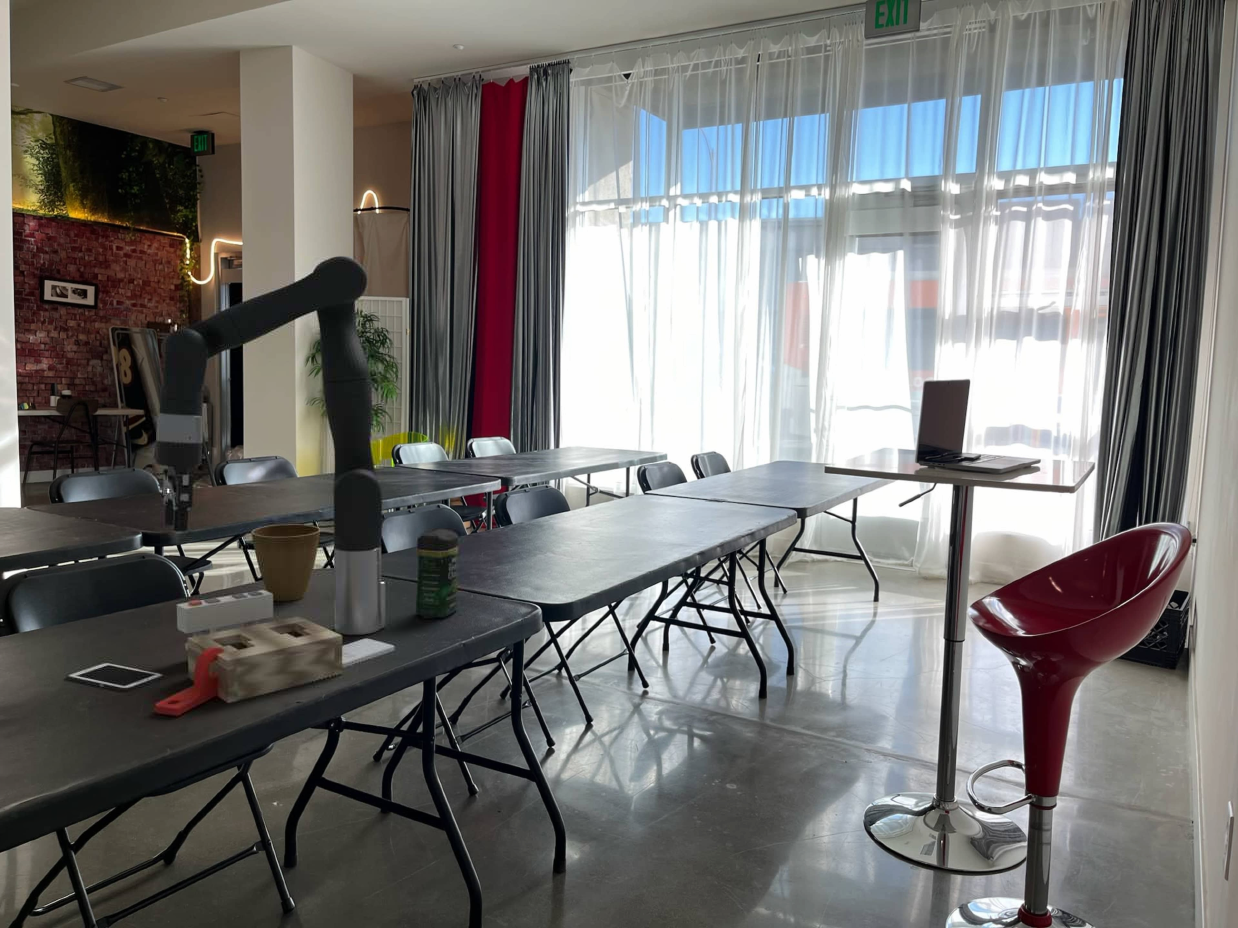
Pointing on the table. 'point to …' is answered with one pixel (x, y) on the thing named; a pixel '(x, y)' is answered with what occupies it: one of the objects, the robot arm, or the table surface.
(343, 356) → the robot arm
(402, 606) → the table surface
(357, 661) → the external hard drive
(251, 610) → the power strip
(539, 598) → the table surface
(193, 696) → the bracket
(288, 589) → the plant pot
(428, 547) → the coffee jar
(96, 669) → the cell phone
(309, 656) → the wooden block with holes
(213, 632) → the block
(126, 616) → the table surface
